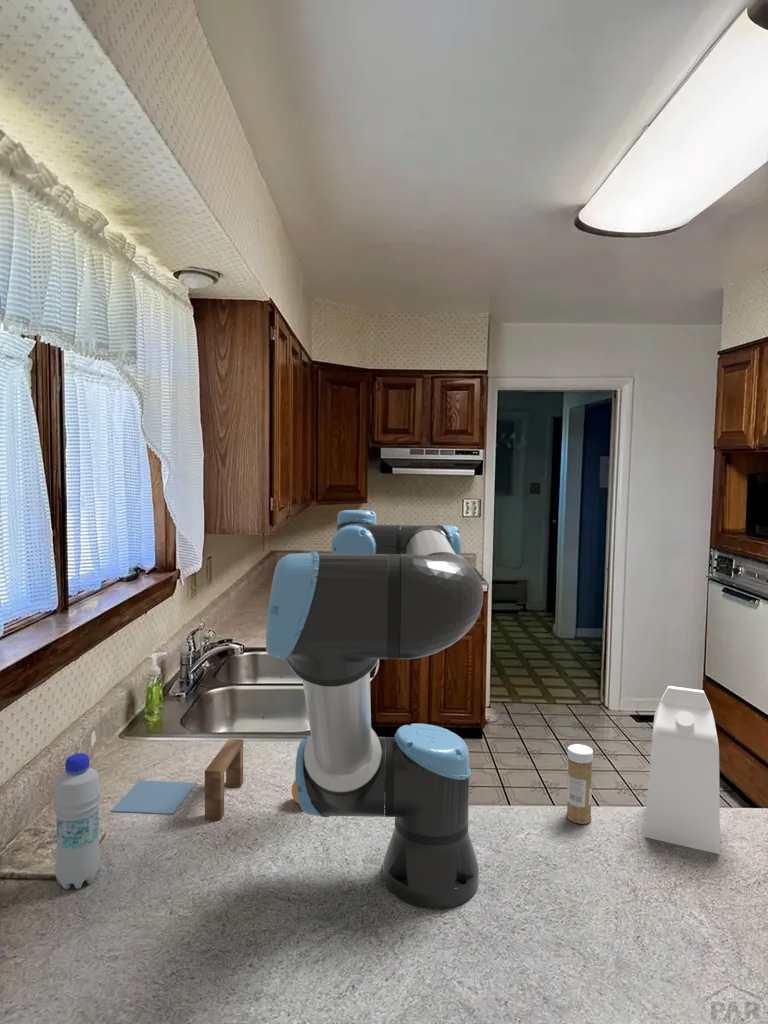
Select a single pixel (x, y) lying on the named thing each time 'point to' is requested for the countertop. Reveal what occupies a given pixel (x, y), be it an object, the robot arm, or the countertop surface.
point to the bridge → (214, 777)
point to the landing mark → (154, 797)
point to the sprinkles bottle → (579, 783)
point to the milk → (684, 772)
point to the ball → (294, 791)
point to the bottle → (77, 822)
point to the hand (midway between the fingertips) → (355, 712)
